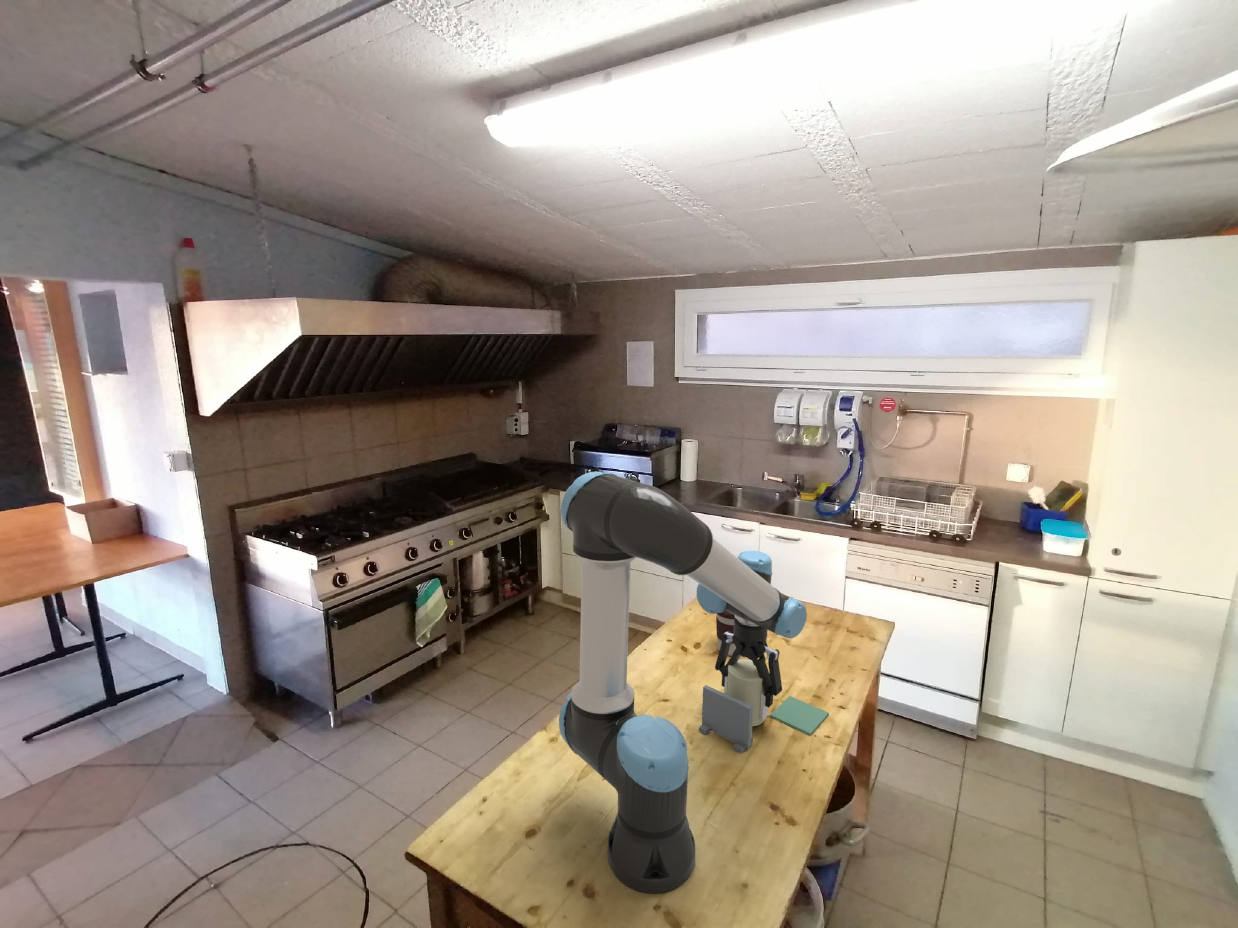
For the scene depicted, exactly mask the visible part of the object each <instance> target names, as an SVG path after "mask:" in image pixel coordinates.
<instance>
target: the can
mask: <svg viewBox="0 0 1238 928" xmlns="http://www.w3.org/2000/svg"><path fill="white" fill-rule="evenodd" d="M762 680H763V679H761V678H760V677H759V674H758V672H757V669H756V666H754V664H753V661H752V660H750V659H748V658H747V659H746V658H745V659H744V658H743V659H742V658H741V659H740V658H739V659H738V661H737V662H736V663H735V664H733V665H732V666H731V665H729V666H728V687H727V695H729V696H731V697H733V698H735V699H737V700H740V701H742V702H744V703H746V704H748V705H750V706H752V707H753V714H752V727H756V726H759V725H761V724H763V723H764V721H766V718H765V719H764V720H761V719H760V707H761V693H762V692H764V689H763V686H762Z"/></svg>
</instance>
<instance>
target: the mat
mask: <svg viewBox="0 0 1238 928" xmlns="http://www.w3.org/2000/svg"><path fill="white" fill-rule="evenodd" d="M828 716H830V713H829V712H828V711H827V710H826V711H825V710H824V709H822V708H820V707H817V706H814V705H812V704H809V703H808V702H806V701H802V700H801V699H797V698H796V697H793V696H791V695H789V696H788V697H786V699H785V700H784V701H783V702H782V703H780V704H779V705H778V707H776V708H775V709H774V710H773V711H772V712H771V713H770V714H769V718H771V719H773V720H775V721H778V722H779V723H782V724H785V725H787V726H788V727H791V728H793V729H795V730H797V731H800V732H801V733H803V734H806V735H808V736H810V737H811V736H812V735H813V733H814V732H816V730H817V729H818V728H819V727H820V725H821V724H822V723H823V722H824V721H825V720H826V719H827V718H828Z"/></svg>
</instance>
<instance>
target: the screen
mask: <svg viewBox="0 0 1238 928" xmlns="http://www.w3.org/2000/svg"><path fill="white" fill-rule="evenodd" d="M701 707H702V711H701V714H702V715H701V725H700V726H698V732H699V733H702V734H703V735H705V736H707V735H708V734H709V733H711V732H712V733H714V734H716V735H717V736H720V737H721V738H724V739H725V740H728V741H729V742H731V743H733V746H732V747H733V748H732V750H733V751H736V752H737V753H739V754H742V753H744V752H745V750H746V751H749V750H750V748H751V747H752V744H753V743H754V738H753V737H752V729H753V726H752V714H753V707H752V706H750V705H748V704H746V703H744V702H742V701H740V700H737V699H735V698H733V697H731V696H729V695H727V694H724V692H723V691H720V690H717V689H716V688H713V687H711V686H710V685H708V684H707V685H706V684H705V685H704V686H703V687H702V706H701Z"/></svg>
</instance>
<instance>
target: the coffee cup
mask: <svg viewBox="0 0 1238 928" xmlns="http://www.w3.org/2000/svg"><path fill="white" fill-rule="evenodd" d="M734 619H735V616H734V614H732V613H730V612H727V611H723V612H722V613H716V617H715V620H716V621H715V623H716V637H717V650H718V652H719V651H720V647H721V644H722V641H721V635H722V634H724V633H725V632H727V631H730V632H731V634H734ZM735 649H736V646H735V644H734V642H733V641H732V642H731V645H730V649H729V652H728V655H727V657H729V656H730V657H731V656H732V655H733V652H734V651H735Z"/></svg>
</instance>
